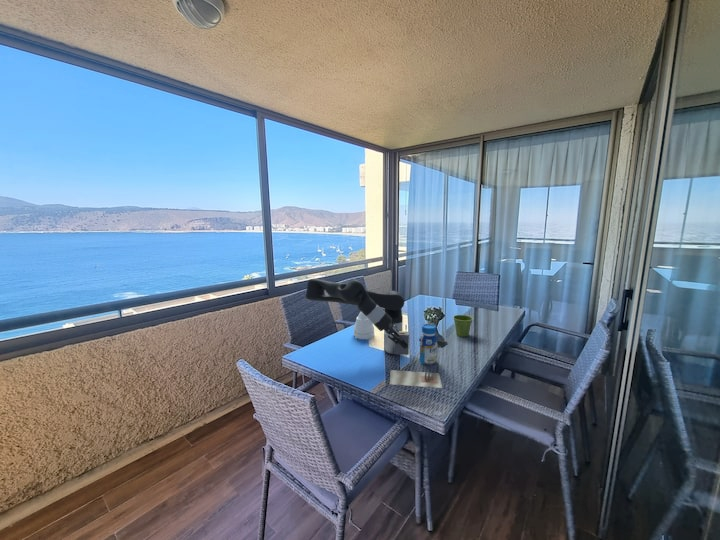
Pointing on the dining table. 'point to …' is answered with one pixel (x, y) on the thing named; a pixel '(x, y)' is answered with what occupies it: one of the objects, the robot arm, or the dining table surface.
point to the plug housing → (398, 347)
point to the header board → (415, 379)
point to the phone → (440, 343)
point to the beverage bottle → (428, 345)
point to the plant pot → (462, 324)
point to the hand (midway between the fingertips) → (406, 345)
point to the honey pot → (363, 327)
